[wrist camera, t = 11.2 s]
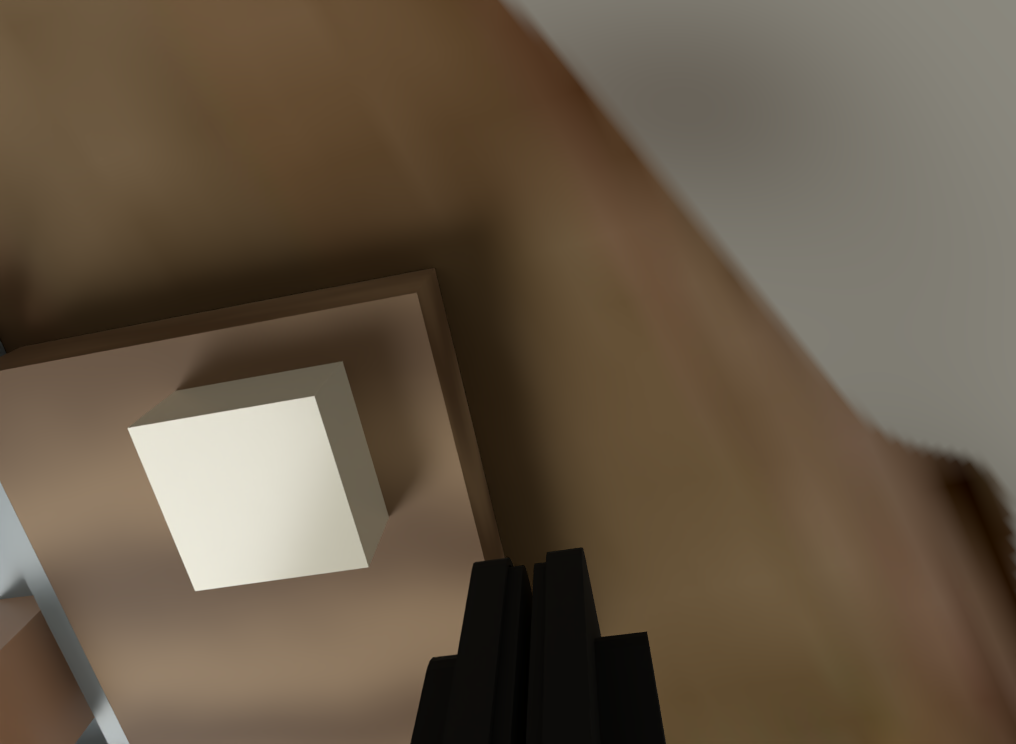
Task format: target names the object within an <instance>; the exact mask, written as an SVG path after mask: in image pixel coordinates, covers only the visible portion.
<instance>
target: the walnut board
mask: <svg viewBox="0 0 1016 744" xmlns="http://www.w3.org/2000/svg"><path fill="white" fill-rule="evenodd" d="M341 361H343V364H344V368H345V371H346V374H347V378H348V381H349V384H350V388H351V391H352V395H353V398H354V401H355V405H356V408H357V411H358V415H359V418H360V421H361V425H362V428H363V432H364V435H365V438H366V442H367V445H368V448H369V452H370V455H371V458H372V462H373V465H374V468H375V472H376V475H377V479H378V482H379V485H380V489H381V492H382V495H383V499H384V502H385V505H386V509H387V512H388V516H389V518H388V521H387V523H386V525H385V528H384V530H383V533H382V535H381V538H380V540H379V543H378V545H377V548H376V550H375V553H374V555H373V558H372V560H371V563H370V565H369V567H367V568H360V569H353V570H345V571H338V572H331V573H324V574H316V575H309V576H302V577H295V578H287V579H280V580H273V581H266V582H258V583H251V584H244V585H237V586H229V587H222V588H215V589H208V590H200V591H195V590H194V587H193V585H192V582H191V580H190V578H189V575H188V573H187V570H186V568H185V566H184V563H183V561H182V558H181V556H180V554H179V551H178V549H177V546H176V544H175V542H174V539H173V537H172V534H171V532H170V529H169V527H168V525H167V522H166V520H165V517H164V515H163V513H162V510H161V508H160V505H159V503H158V501H157V498H156V496H155V493H154V491H153V489H152V486H151V484H150V481H149V479H148V477H147V474H146V472H145V469H144V467H143V465H142V462H141V460H140V457H139V455H138V452H137V450H136V448H135V445H134V443H133V440H132V438H131V436H130V433H129V431H128V427H129V426H131V425H132V424H133V423H135V422H136V421H137V420H138V419H140V418H141V417H142V416H144V415H145V414H146V413H147V412H149V411H150V410H151V409H153V408H154V407H155V406H157V405H158V404H159V403H160V402H162V401H163V400H164V399H166V398H167V397H168V396H169V395H171V394H172V393H173V392H175V391H177V390H183V389H189V388H194V387H200V386H206V385H211V384H217V383H223V382H228V381H234V380H240V379H245V378H251V377H256V376H262V375H268V374H273V373H279V372H285V371H290V370H296V369H302V368H307V367H313V366H319V365H324V364H330V363H336V362H341ZM0 482H1V484H2V486H3V488H4V490H5V492H6V494H7V496H8V498H9V500H10V502H11V504H12V506H13V508H14V510H15V512H16V515H17V517H18V519H19V521H20V523H21V525H22V527H23V529H24V531H25V533H26V535H27V537H28V539H29V541H30V543H31V545H32V547H33V549H34V551H35V553H36V555H37V557H38V559H39V561H40V563H41V565H42V567H43V569H44V571H45V573H46V575H47V577H48V579H49V581H50V584H51V586H52V588H53V590H54V592H55V594H56V596H57V598H58V600H59V602H60V604H61V606H62V608H63V610H64V612H65V614H66V616H67V618H68V620H69V622H70V624H71V626H72V628H73V630H74V632H75V634H76V636H77V638H78V640H79V642H80V644H81V646H82V648H83V651H84V653H85V655H86V657H87V659H88V661H89V663H90V665H91V667H92V669H93V671H94V673H95V675H96V677H97V679H98V681H99V683H100V685H101V687H102V689H103V691H104V693H105V695H106V697H107V699H108V701H109V703H110V705H111V707H112V709H113V711H114V713H115V715H116V717H117V720H118V722H119V724H120V726H121V728H122V730H123V732H124V734H125V736H126V738H127V740H128V742H129V744H410V743H411V738H412V734H413V729H414V725H415V720H416V715H417V711H418V706H419V702H420V697H421V693H422V688H423V683H424V679H425V674H426V670H427V667H428V664H429V661H430V660H431V659H432V657H439V656H447V655H456V654H457V653H458V647H459V641H460V635H461V629H462V624H463V618H464V612H465V606H466V600H467V595H468V589H469V583H470V577H471V571H472V566H473V563H475V562H479V561H487V560H494V559H501V558H505V556H504V552H503V548H502V544H501V540H500V536H499V531H498V527H497V523H496V519H495V515H494V511H493V507H492V502H491V498H490V494H489V490H488V486H487V482H486V478H485V473H484V469H483V465H482V461H481V457H480V453H479V449H478V444H477V440H476V436H475V432H474V428H473V424H472V420H471V416H470V411H469V407H468V403H467V399H466V395H465V391H464V387H463V382H462V378H461V374H460V370H459V366H458V362H457V358H456V353H455V349H454V345H453V341H452V337H451V333H450V329H449V324H448V320H447V316H446V312H445V308H444V304H443V300H442V296H441V291H440V287H439V283H438V279H437V275H436V271H435V268H430V269H425V270H420V271H415V272H409V273H404V274H399V275H394V276H389V277H383V278H378V279H373V280H368V281H362V282H357V283H352V284H347V285H342V286H336V287H331V288H326V289H321V290H315V291H310V292H305V293H300V294H294V295H289V296H284V297H279V298H274V299H268V300H263V301H258V302H253V303H247V304H242V305H237V306H232V307H227V308H221V309H216V310H211V311H206V312H200V313H195V314H190V315H185V316H179V317H174V318H169V319H164V320H159V321H153V322H148V323H143V324H138V325H132V326H127V327H122V328H117V329H112V330H106V331H101V332H96V333H91V334H85V335H80V336H75V337H70V338H64V339H59V340H54V341H49V342H44V343H38V344H33V345H28V346H23V347H20V348H17V349H15V350H13V351H11V352H9V353H7V354H5V355H3V356H0Z"/></svg>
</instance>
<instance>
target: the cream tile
mask: <svg viewBox="0 0 1016 744" xmlns="http://www.w3.org/2000/svg"><path fill="white" fill-rule="evenodd" d="M128 431H129V433H130V436H131V438H132V440H133V443H134V445H135V448H136V450H137V452H138V455H139V457H140V460H141V462H142V465H143V467H144V469H145V472H146V474H147V477H148V479H149V481H150V484H151V486H152V489H153V491H154V493H155V496H156V498H157V501H158V503H159V505H160V508H161V510H162V513H163V515H164V517H165V520H166V522H167V525H168V527H169V529H170V532H171V534H172V537H173V539H174V542H175V544H176V546H177V549H178V551H179V554H180V556H181V558H182V561H183V563H184V566H185V568H186V570H187V573H188V575H189V578H190V580H191V582H192V585H193V587H194V590H195V591H200V590H208V589H215V588H222V587H229V586H237V585H244V584H251V583H258V582H266V581H273V580H280V579H287V578H295V577H302V576H309V575H316V574H324V573H331V572H338V571H345V570H353V569H360V568H367V567H369V565H370V563H371V560H372V558H373V555H374V553H375V550H376V548H377V545H378V543H379V540H380V538H381V535H382V533H383V530H384V528H385V525H386V523H387V521H388V518H389V516H388V512H387V509H386V505H385V502H384V499H383V495H382V492H381V489H380V485H379V482H378V479H377V475H376V472H375V468H374V465H373V462H372V458H371V455H370V452H369V448H368V445H367V442H366V438H365V435H364V432H363V428H362V425H361V421H360V418H359V415H358V411H357V408H356V405H355V401H354V398H353V395H352V391H351V388H350V384H349V381H348V378H347V374H346V371H345V368H344V364H343V361H341V362H336V363H330V364H324V365H319V366H313V367H307V368H302V369H296V370H290V371H285V372H279V373H273V374H268V375H262V376H256V377H251V378H245V379H240V380H234V381H228V382H223V383H217V384H211V385H206V386H200V387H194V388H189V389H183V390H177V391H175V392H173V393H172V394H171V395H169V396H168V397H167V398H166V399H164V400H163V401H162V402H160V403H159V404H158V405H157V406H155V407H154V408H153V409H151V410H150V411H149V412H147V413H146V414H145V415H144V416H142V417H141V418H140V419H138V420H137V421H136V422H135V423H133V424H132V425H131V426H129V427H128Z"/></svg>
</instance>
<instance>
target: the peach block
mask: <svg viewBox="0 0 1016 744" xmlns="http://www.w3.org/2000/svg"><path fill="white" fill-rule="evenodd" d="M94 718H95V717H94V715H93V713H92V711H91V709H90V707H89V705H88V703H87V701H86V699H85V697H84V695H83V693H82V691H81V689H80V687H79V685H78V683H77V681H76V679H75V677H74V675H73V673H72V671H71V669H70V667H69V665H68V663H67V661H66V659H65V657H64V655H63V654H62V652H61V650H60V648H59V646H58V644H57V642H56V640H55V638H54V636H53V634H52V632H51V630H50V628H49V626H48V624H47V622H46V620H45V618H44V616H43V614H42V612H41V610H40V608H39V606H38V604H37V602H36V600H35V598H34V596H33V595H32V596H23V597H15V598H6V599H0V744H75V743H76V742H77V740H78V739H79V738H80V736H81V735H82V734H83V732H84V731H85V730H86V728H87V727H88V726H89V724H90V723H91V722H92V720H93V719H94Z"/></svg>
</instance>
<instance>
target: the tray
mask: <svg viewBox="0 0 1016 744" xmlns="http://www.w3.org/2000/svg"><path fill="white" fill-rule="evenodd" d="M5 354H6V352H5V349H4V347H3V345H2V343H1V341H0V356H3V355H5ZM32 595H33V596H34V598H35V600H36V602H37V604H38V606H39V608H40V610H41V612H42V614H43V616H44V618H45V620H46V622H47V624H48V626H49V628H50V630H51V632H52V634H53V636H54V638H55V640H56V642H57V644H58V646H59V648H60V650H61V652H62V654H63V655H64V657H65V659H66V661H67V663H68V665H69V667H70V669H71V671H72V673H73V675H74V677H75V679H76V681H77V683H78V685H79V687H80V689H81V691H82V693H83V695H84V697H85V699H86V701H87V703H88V705H89V707H90V709H91V711H92V713H93V715H94V717H95V718H94V719H93V720H92V722H91V723H90V724H89V726H88V727H87V728H86V730H85V731H84V732H83V734H82V735H81V736H80V738H79V739H78V740H77V742H76V743H75V744H129V742H128V740H127V738H126V736H125V734H124V732H123V730H122V728H121V726H120V724H119V722H118V720H117V717H116V715H115V713H114V711H113V709H112V707H111V705H110V703H109V701H108V699H107V697H106V695H105V693H104V691H103V689H102V687H101V685H100V683H99V681H98V679H97V677H96V675H95V673H94V671H93V669H92V667H91V665H90V663H89V661H88V659H87V657H86V655H85V653H84V651H83V648H82V646H81V644H80V642H79V640H78V638H77V636H76V634H75V632H74V630H73V628H72V626H71V624H70V622H69V620H68V618H67V616H66V614H65V612H64V610H63V608H62V606H61V604H60V602H59V600H58V598H57V596H56V594H55V592H54V590H53V588H52V586H51V584H50V581H49V579H48V577H47V575H46V573H45V571H44V569H43V567H42V565H41V563H40V561H39V559H38V557H37V555H36V553H35V551H34V549H33V547H32V545H31V543H30V541H29V539H28V537H27V535H26V533H25V531H24V529H23V527H22V525H21V523H20V521H19V519H18V517H17V515H16V512H15V510H14V508H13V506H12V504H11V502H10V500H9V498H8V496H7V494H6V492H5V490H4V488H3V486H2V484H1V482H0V599H6V598H15V597H23V596H32Z"/></svg>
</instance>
